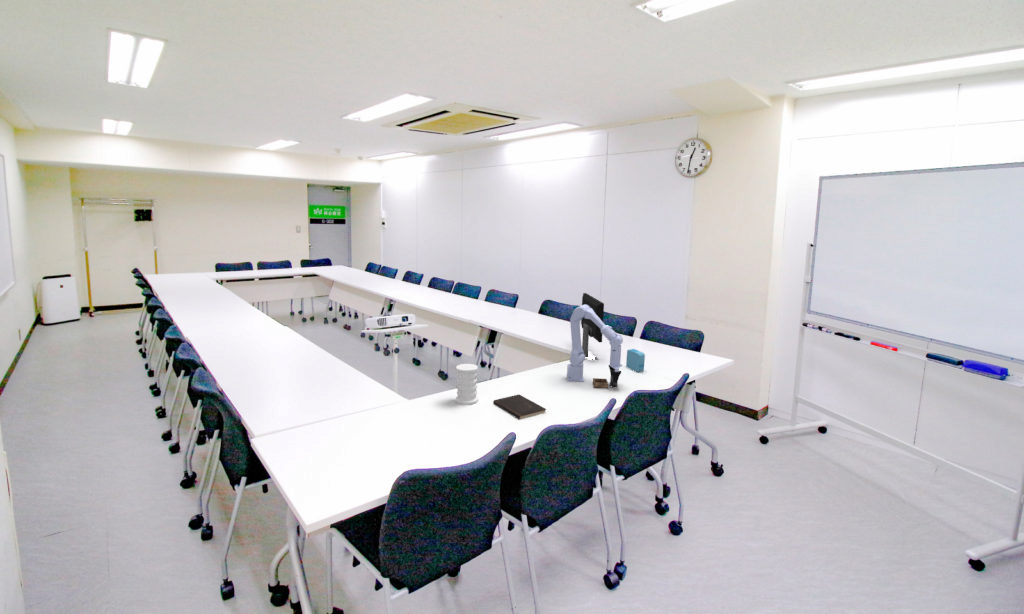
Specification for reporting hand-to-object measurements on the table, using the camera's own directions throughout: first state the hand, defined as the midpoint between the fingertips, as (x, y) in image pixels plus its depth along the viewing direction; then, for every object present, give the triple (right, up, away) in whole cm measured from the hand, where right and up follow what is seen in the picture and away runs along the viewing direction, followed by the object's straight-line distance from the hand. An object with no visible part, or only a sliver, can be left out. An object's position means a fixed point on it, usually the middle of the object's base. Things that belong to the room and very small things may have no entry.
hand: (614, 380), depth 275 cm
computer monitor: (-5, +8, +60) cm, 60 cm away
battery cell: (0, -4, +1) cm, 4 cm away
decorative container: (-80, -7, -24) cm, 84 cm away
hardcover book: (-54, -10, -32) cm, 63 cm away
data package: (+19, +2, +31) cm, 37 cm away
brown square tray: (-8, -3, +1) cm, 8 cm away
